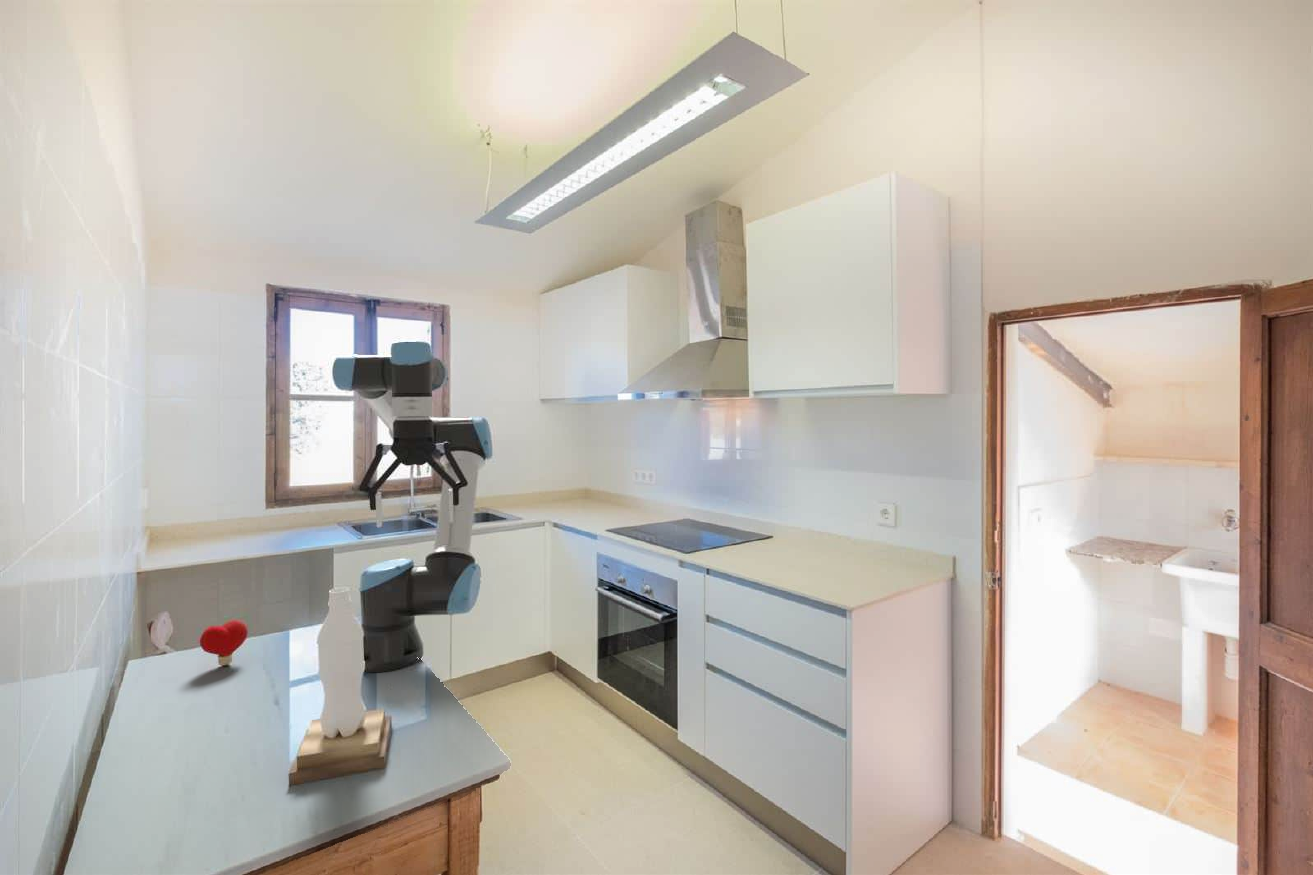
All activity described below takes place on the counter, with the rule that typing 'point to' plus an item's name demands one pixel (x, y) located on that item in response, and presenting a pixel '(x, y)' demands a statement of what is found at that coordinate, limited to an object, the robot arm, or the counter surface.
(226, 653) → the red heart on stem
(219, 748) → the counter surface
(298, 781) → the walnut slab
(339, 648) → the water bottle
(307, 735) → the oak slab
